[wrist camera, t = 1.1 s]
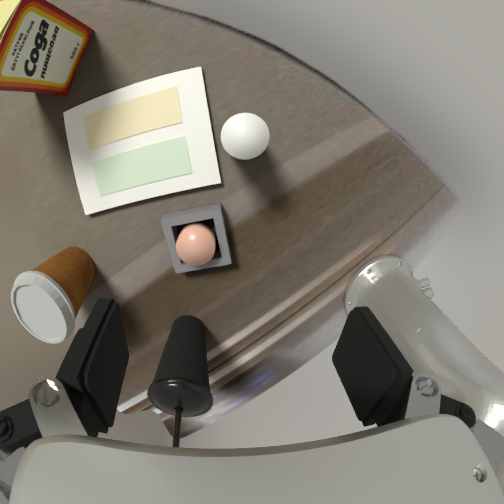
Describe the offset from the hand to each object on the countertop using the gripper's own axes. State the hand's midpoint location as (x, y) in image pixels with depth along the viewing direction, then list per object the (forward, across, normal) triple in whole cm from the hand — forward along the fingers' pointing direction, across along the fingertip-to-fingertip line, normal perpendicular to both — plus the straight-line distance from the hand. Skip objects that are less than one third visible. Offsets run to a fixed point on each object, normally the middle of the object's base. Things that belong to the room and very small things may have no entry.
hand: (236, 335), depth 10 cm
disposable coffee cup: (+25, +20, +12) cm, 34 cm away
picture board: (+24, +11, -6) cm, 27 cm away
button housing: (+24, +2, +6) cm, 25 cm away
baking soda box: (+25, +23, -18) cm, 39 cm away
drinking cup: (+24, +4, +20) cm, 32 cm away
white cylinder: (+24, -1, -7) cm, 25 cm away
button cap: (+22, +3, +6) cm, 23 cm away
